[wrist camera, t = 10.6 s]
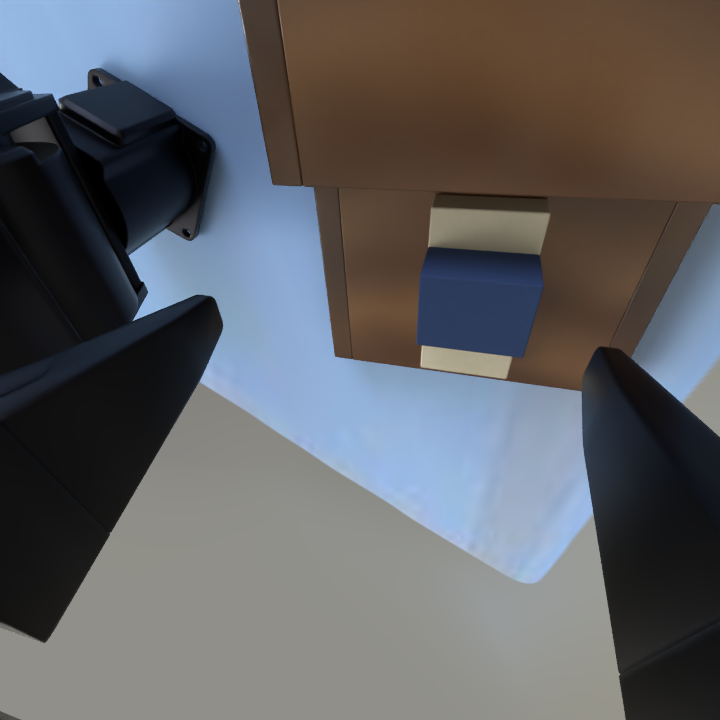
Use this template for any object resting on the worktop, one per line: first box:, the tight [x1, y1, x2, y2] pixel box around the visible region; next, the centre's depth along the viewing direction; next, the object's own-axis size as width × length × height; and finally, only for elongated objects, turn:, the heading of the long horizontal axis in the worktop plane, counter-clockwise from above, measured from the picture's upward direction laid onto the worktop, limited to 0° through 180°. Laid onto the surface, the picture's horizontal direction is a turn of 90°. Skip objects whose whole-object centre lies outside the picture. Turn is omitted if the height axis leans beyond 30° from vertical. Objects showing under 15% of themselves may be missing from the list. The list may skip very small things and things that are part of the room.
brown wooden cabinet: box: [238, 0, 720, 391], centre depth 15 cm, size 24×16×6 cm, turn 3°
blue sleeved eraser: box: [416, 195, 551, 379], centre depth 19 cm, size 9×5×4 cm, turn 3°
